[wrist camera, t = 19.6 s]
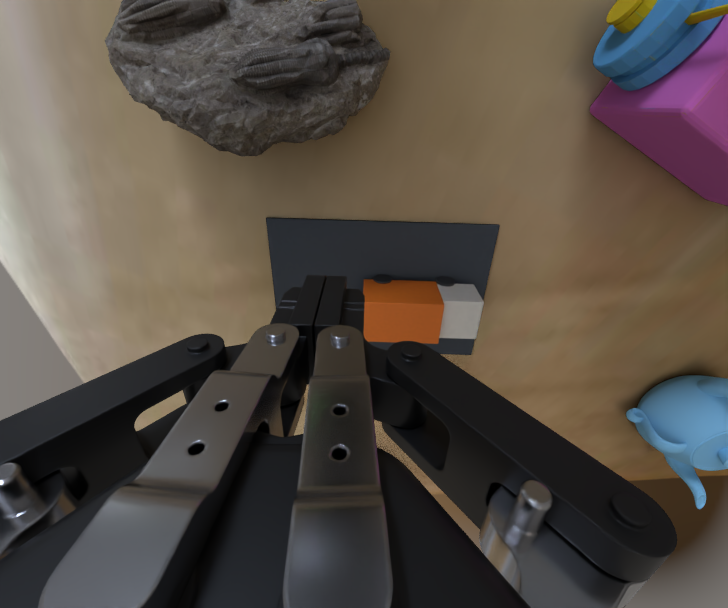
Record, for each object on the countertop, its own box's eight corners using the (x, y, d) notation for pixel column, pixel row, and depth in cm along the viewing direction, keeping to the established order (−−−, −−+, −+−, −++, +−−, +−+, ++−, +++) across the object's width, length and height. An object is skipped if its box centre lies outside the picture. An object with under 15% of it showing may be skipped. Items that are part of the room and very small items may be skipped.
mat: (281, 347, 48) (280, 348, 48) (266, 217, 39) (265, 218, 39) (470, 353, 48) (471, 355, 48) (498, 224, 39) (499, 225, 39)
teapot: (603, 401, 52) (650, 462, 43) (709, 342, 47) (789, 398, 38) (649, 447, 57) (700, 511, 48) (750, 398, 51) (830, 461, 42)
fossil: (403, -35, 26) (362, 147, 23) (393, 73, 35) (363, 210, 33) (118, -82, 27) (48, 89, 24) (183, 36, 36) (138, 167, 34)
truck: (361, 343, 39) (477, 346, 39) (362, 300, 36) (487, 304, 36) (362, 312, 45) (464, 315, 45) (364, 273, 42) (471, 276, 42)
